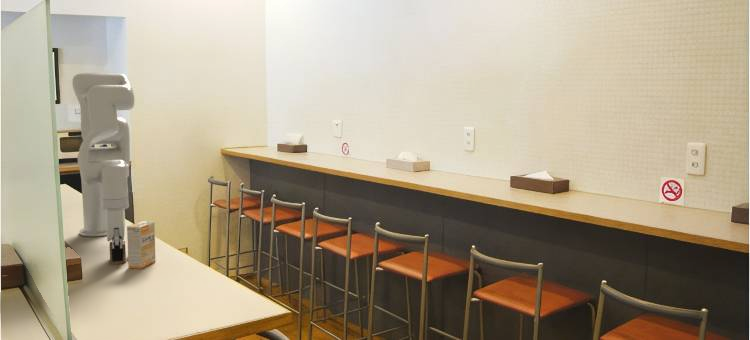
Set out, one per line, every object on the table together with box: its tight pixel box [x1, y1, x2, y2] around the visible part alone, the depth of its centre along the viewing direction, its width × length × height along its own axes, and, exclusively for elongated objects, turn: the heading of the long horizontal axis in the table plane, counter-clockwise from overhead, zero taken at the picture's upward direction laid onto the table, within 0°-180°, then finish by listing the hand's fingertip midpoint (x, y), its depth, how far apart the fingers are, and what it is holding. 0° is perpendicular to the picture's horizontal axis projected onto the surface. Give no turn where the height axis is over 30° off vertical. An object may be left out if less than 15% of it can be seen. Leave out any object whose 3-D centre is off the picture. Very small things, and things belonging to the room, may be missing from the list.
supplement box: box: [126, 220, 156, 270], centre depth 197 cm, size 8×5×13 cm, turn 168°
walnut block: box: [109, 240, 127, 265], centre depth 201 cm, size 4×4×6 cm
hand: (117, 256), depth 201 cm, fingers open, 9 cm apart
